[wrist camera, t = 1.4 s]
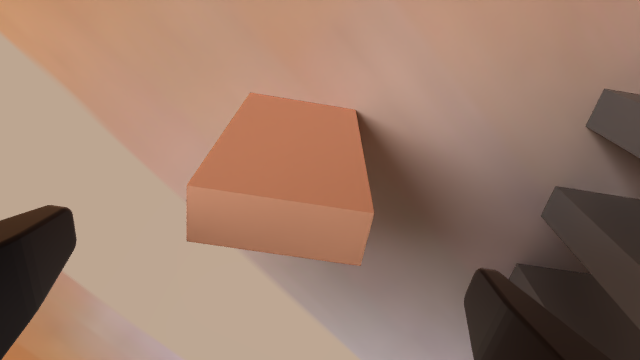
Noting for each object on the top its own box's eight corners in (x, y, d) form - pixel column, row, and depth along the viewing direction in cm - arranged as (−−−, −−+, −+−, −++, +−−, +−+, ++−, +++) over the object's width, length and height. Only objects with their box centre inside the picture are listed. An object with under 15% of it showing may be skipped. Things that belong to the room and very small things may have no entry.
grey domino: (585, 298, 21) (716, 466, 14) (504, 287, 21) (596, 451, 13) (599, 275, 20) (746, 440, 13) (516, 263, 20) (620, 424, 13)
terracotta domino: (348, 145, 17) (360, 266, 10) (247, 129, 17) (186, 241, 10) (355, 110, 16) (374, 213, 9) (250, 92, 16) (186, 185, 9)
